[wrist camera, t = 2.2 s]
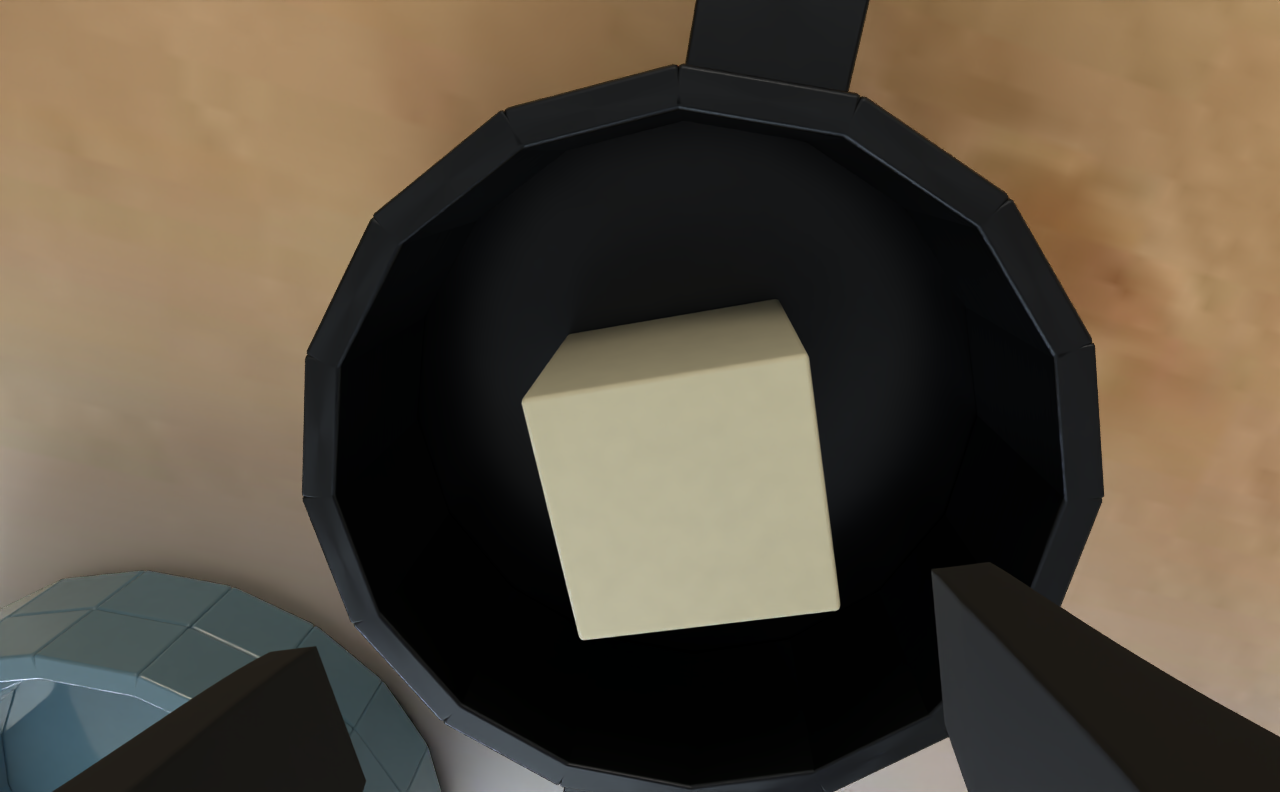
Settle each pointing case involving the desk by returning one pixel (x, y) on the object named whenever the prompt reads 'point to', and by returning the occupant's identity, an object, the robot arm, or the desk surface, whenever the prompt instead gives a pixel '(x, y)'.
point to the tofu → (685, 472)
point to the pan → (677, 285)
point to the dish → (164, 674)
